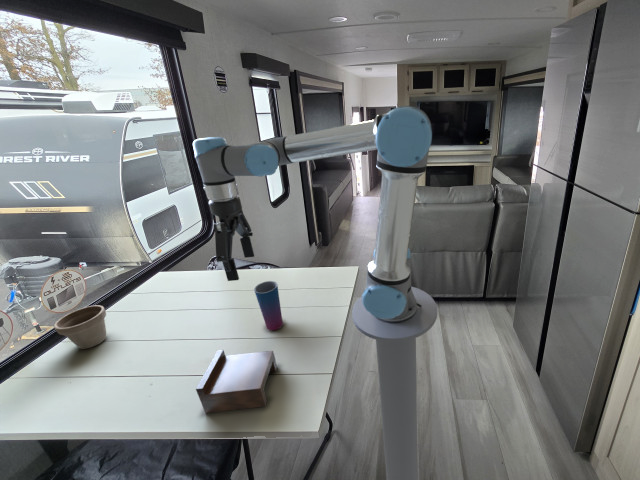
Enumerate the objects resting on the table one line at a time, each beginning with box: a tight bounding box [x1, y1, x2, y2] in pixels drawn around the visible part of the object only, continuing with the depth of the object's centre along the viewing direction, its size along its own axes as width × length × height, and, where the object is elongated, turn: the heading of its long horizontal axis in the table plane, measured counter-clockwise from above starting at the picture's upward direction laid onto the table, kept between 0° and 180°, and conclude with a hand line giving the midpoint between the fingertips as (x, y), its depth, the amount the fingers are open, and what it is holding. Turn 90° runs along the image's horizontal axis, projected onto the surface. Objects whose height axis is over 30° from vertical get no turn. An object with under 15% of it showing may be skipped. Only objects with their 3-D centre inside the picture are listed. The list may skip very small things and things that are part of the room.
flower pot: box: [53, 304, 107, 350], centre depth 96 cm, size 12×11×10 cm
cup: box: [253, 280, 284, 331], centre depth 99 cm, size 7×7×15 cm
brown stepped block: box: [195, 349, 278, 414], centre depth 78 cm, size 14×12×8 cm
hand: (242, 267), depth 90 cm, fingers open, 13 cm apart
